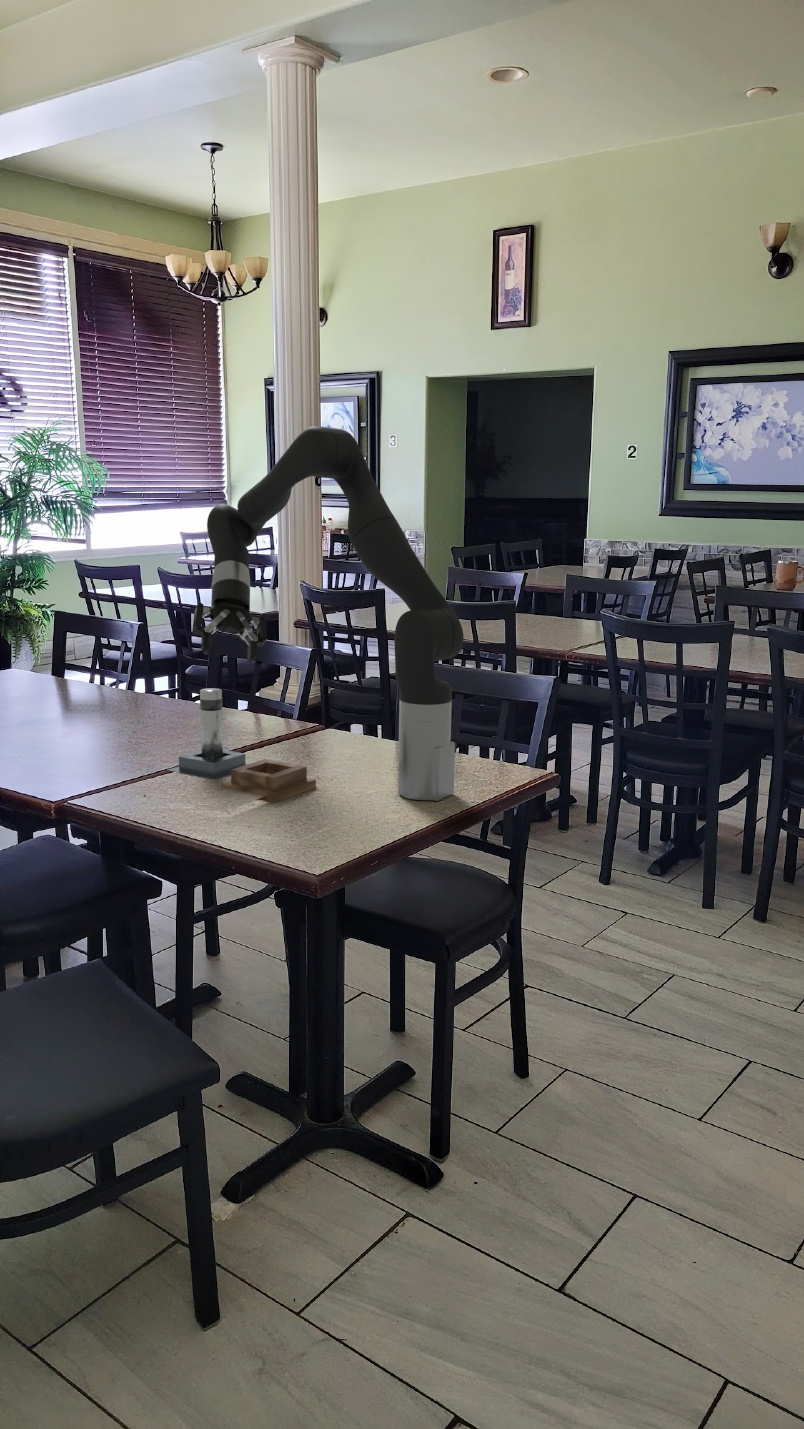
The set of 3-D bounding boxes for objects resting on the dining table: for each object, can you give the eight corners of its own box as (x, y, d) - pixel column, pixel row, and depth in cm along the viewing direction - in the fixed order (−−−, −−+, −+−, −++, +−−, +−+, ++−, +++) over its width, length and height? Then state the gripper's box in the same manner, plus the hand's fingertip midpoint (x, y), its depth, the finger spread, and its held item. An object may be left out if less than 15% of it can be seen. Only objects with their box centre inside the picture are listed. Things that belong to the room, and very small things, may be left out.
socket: (257, 770, 200) (257, 753, 199) (215, 784, 190) (215, 766, 189) (209, 761, 206) (209, 744, 205) (166, 775, 196) (166, 757, 195)
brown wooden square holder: (315, 787, 190) (315, 766, 189) (275, 803, 179) (274, 780, 179) (264, 777, 196) (263, 756, 195) (221, 792, 186) (221, 770, 185)
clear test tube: (227, 767, 199) (226, 689, 196) (213, 771, 195) (211, 693, 192) (211, 764, 201) (209, 687, 198) (197, 768, 197) (195, 690, 194)
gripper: (200, 570, 202) (197, 639, 194) (271, 585, 208) (270, 652, 199) (191, 592, 208) (187, 660, 200) (259, 606, 213) (259, 673, 205)
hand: (229, 656), depth 200 cm, fingers open, 8 cm apart
